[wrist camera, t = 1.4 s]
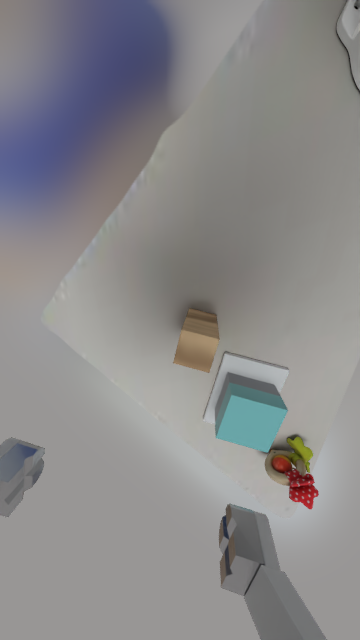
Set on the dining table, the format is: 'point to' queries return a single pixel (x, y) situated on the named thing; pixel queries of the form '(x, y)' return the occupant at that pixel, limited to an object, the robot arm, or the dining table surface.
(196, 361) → the oak brick
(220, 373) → the brick tower
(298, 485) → the bird rattle
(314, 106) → the dining table surface
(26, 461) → the robot arm
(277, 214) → the dining table surface
